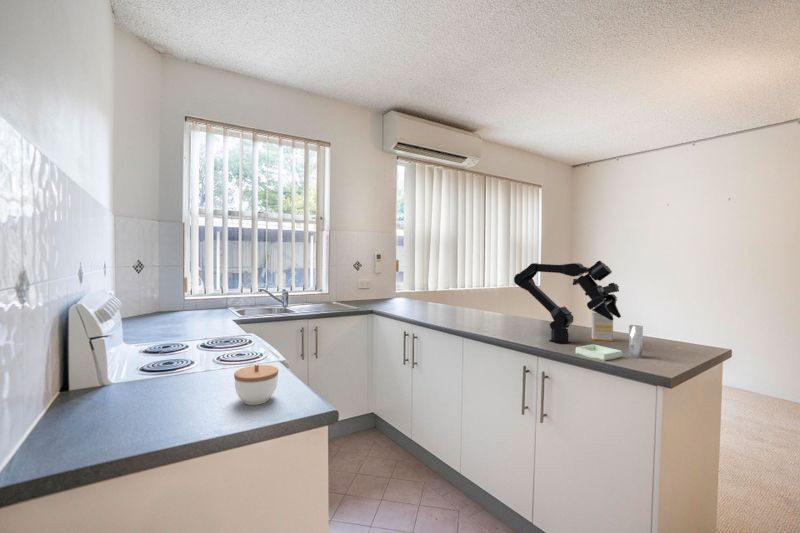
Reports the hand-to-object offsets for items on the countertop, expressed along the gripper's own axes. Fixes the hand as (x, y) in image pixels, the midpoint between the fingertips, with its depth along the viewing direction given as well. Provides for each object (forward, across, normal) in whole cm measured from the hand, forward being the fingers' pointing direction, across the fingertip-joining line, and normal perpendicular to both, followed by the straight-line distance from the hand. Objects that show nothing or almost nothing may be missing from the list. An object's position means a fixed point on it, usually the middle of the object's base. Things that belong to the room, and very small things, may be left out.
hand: (616, 318), depth 149 cm
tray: (+9, -11, +11) cm, 18 cm away
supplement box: (+3, +20, +18) cm, 27 cm away
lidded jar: (-20, -128, +45) cm, 137 cm away
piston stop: (+15, -2, +3) cm, 16 cm away
